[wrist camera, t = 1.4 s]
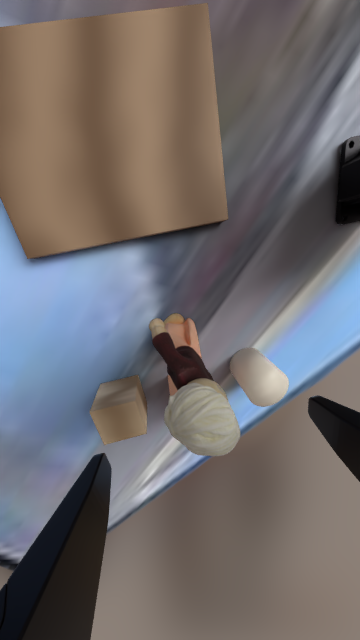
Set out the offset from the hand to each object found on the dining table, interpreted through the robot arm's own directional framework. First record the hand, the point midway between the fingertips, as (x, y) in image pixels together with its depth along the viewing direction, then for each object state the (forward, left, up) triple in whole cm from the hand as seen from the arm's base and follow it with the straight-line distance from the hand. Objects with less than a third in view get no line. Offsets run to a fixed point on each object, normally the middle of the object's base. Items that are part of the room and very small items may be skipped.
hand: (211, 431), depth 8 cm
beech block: (+7, +6, -12) cm, 15 cm away
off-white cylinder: (-7, +6, -12) cm, 15 cm away
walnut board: (+2, -15, -12) cm, 19 cm away
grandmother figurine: (0, 0, -12) cm, 12 cm away
